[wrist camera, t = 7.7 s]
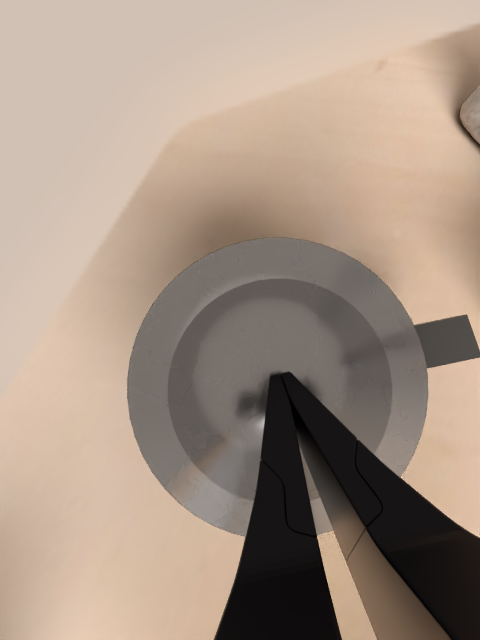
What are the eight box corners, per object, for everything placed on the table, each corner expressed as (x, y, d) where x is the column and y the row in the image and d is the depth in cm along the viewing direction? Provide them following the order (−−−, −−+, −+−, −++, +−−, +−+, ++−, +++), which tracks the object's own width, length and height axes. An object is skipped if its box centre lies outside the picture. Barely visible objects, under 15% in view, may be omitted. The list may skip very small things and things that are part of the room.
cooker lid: (439, 489, 12) (471, 515, 10) (166, 548, 12) (154, 584, 10) (378, 220, 12) (400, 203, 10) (112, 275, 12) (92, 267, 10)
